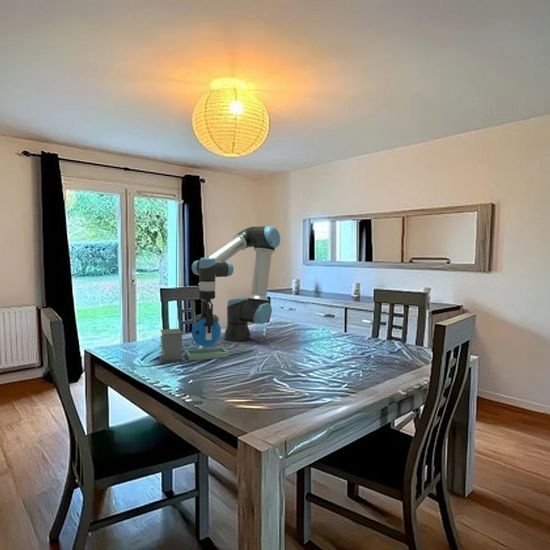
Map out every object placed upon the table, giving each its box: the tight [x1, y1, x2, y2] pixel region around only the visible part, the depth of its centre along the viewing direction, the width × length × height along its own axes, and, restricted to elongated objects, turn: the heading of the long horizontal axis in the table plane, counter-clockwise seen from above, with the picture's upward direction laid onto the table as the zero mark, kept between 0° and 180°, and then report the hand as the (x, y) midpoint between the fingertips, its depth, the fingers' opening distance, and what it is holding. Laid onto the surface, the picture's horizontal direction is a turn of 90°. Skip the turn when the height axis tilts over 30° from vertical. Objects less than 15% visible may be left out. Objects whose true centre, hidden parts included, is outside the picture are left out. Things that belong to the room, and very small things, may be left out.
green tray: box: [184, 346, 230, 362], centre depth 196 cm, size 19×11×2 cm, turn 111°
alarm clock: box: [191, 313, 222, 347], centre depth 195 cm, size 13×6×15 cm, turn 90°
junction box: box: [158, 328, 186, 364], centre depth 190 cm, size 10×12×13 cm
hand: (206, 337), depth 195 cm, fingers closed on alarm clock, 8 cm apart
